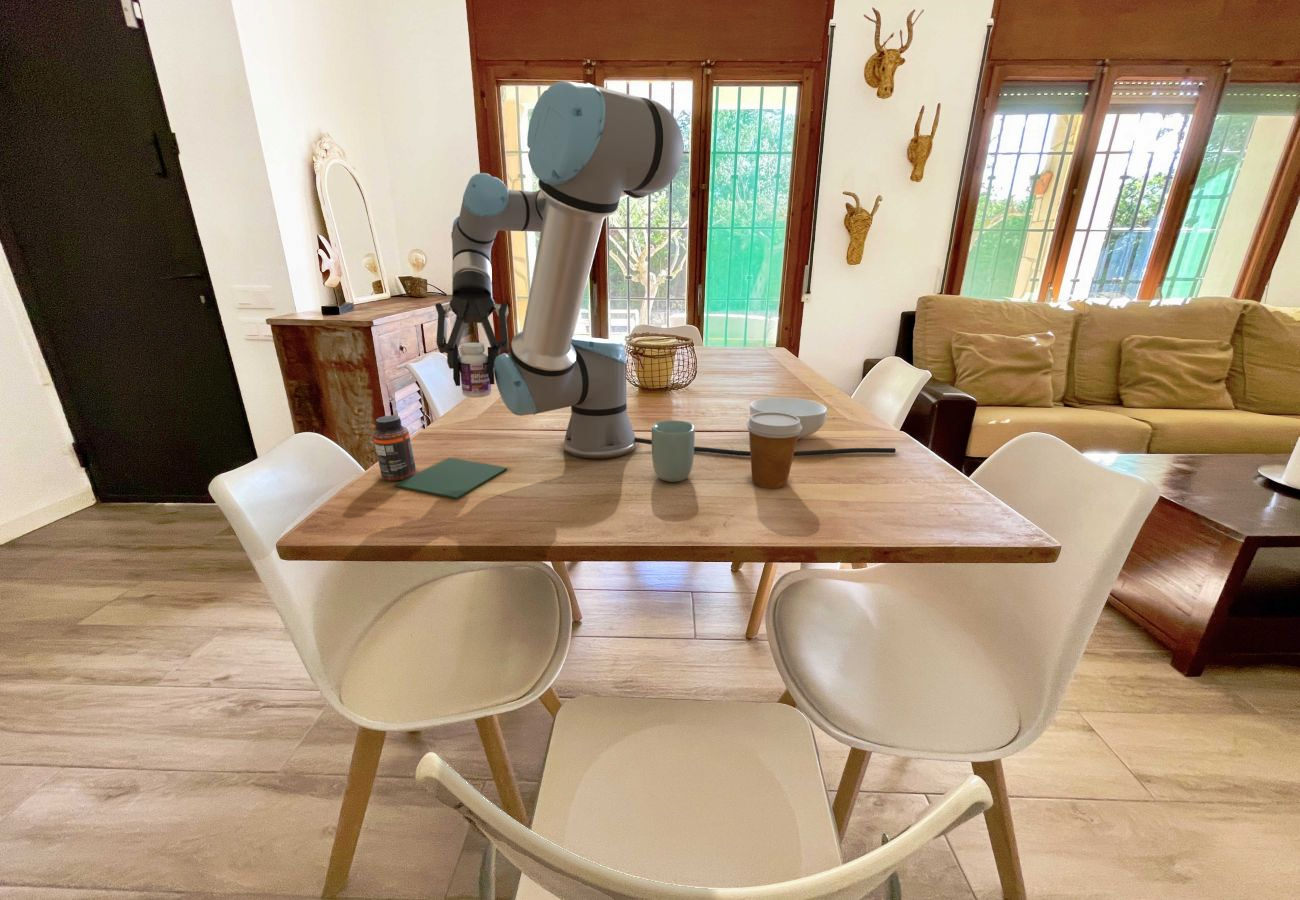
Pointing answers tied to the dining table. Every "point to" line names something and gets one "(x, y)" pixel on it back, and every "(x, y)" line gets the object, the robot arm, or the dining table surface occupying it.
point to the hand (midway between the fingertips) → (474, 381)
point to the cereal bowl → (794, 411)
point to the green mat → (451, 478)
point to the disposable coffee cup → (772, 447)
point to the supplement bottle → (393, 449)
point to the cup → (673, 449)
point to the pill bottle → (474, 371)
